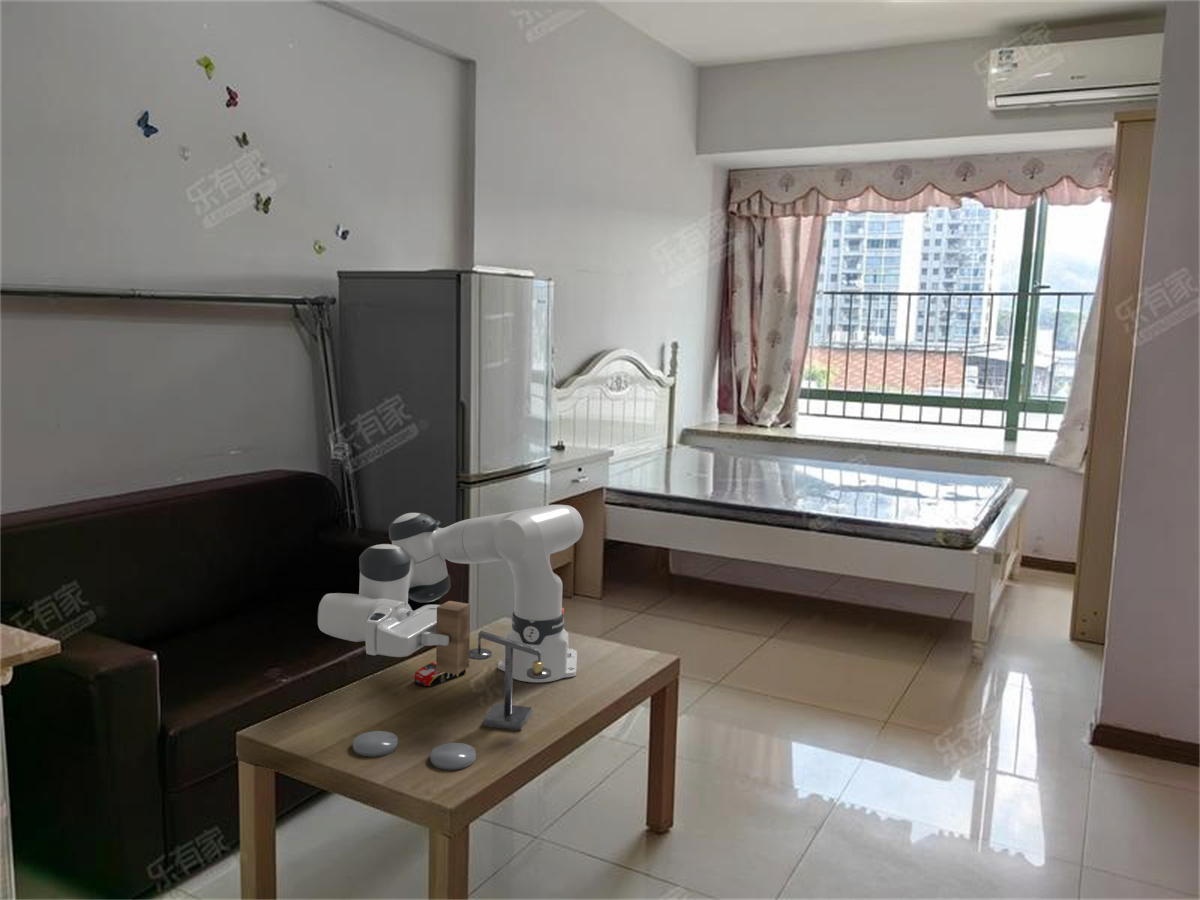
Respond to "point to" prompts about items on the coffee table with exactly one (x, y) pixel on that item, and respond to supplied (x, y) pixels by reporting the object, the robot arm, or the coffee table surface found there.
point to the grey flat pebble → (453, 756)
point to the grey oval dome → (375, 743)
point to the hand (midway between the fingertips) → (457, 635)
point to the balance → (509, 682)
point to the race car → (433, 675)
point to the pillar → (453, 637)
